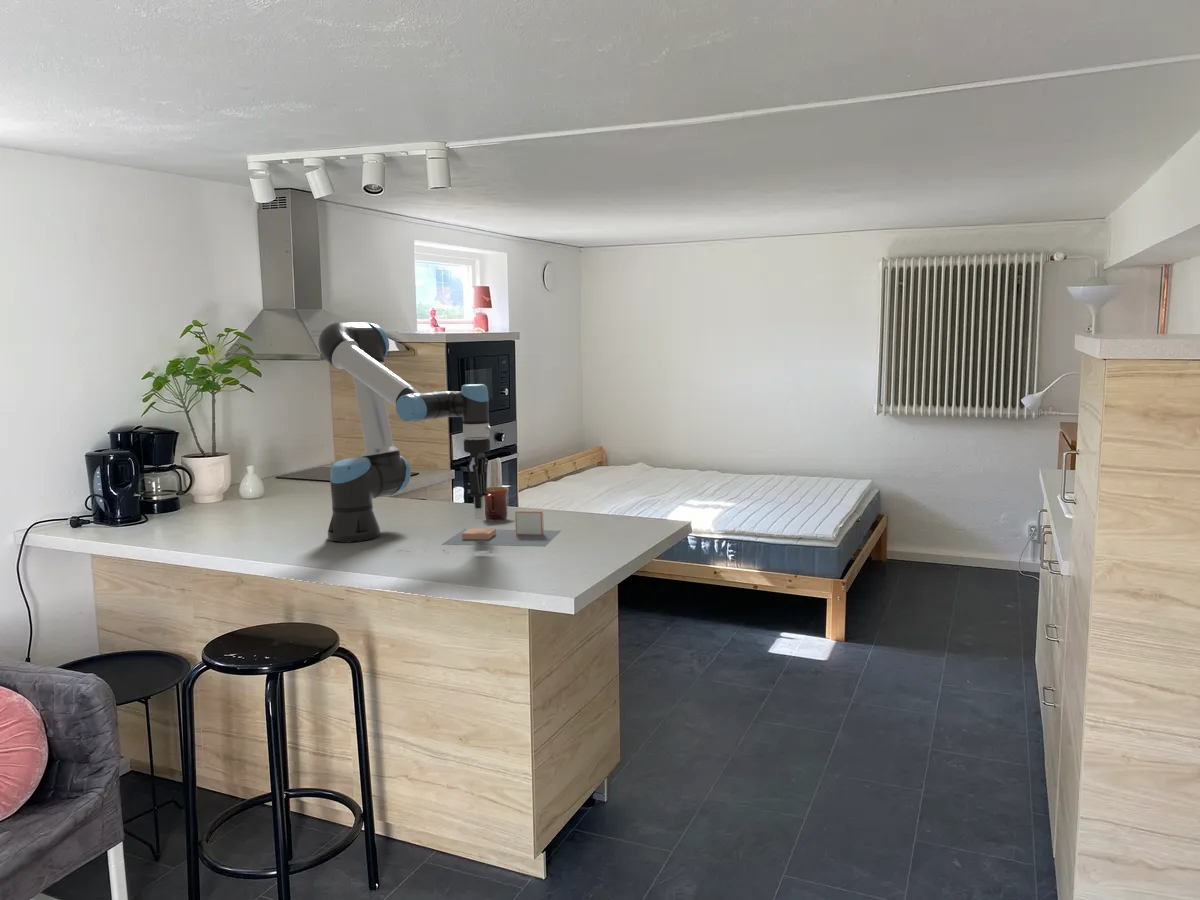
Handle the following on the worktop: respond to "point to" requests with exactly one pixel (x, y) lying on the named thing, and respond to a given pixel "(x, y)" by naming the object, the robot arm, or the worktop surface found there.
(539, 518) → the tile
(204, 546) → the worktop surface
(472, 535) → the tile
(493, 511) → the mug
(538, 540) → the mat
